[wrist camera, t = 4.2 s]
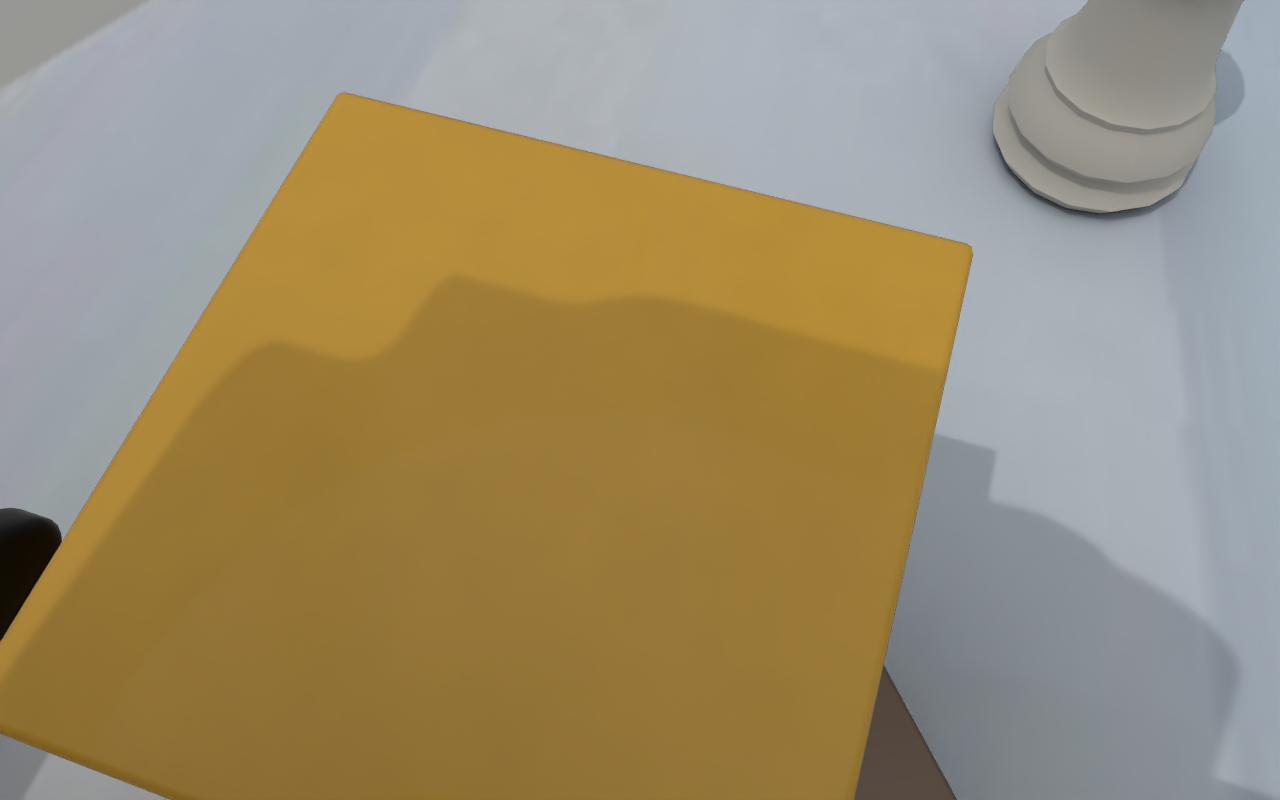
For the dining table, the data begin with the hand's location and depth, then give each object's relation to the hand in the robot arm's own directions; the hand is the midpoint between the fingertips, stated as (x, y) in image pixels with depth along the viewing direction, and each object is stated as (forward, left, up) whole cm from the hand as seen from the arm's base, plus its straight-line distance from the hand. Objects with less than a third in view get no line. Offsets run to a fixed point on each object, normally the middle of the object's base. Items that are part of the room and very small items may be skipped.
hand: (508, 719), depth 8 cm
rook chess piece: (+8, -16, -9) cm, 20 cm away
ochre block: (+1, -1, -6) cm, 6 cm away
